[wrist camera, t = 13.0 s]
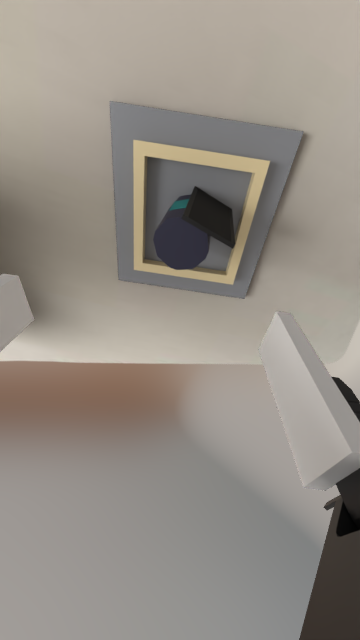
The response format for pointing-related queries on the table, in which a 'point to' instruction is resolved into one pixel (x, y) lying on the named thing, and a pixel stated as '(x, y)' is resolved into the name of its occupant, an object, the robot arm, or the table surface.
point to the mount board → (180, 179)
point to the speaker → (192, 230)
